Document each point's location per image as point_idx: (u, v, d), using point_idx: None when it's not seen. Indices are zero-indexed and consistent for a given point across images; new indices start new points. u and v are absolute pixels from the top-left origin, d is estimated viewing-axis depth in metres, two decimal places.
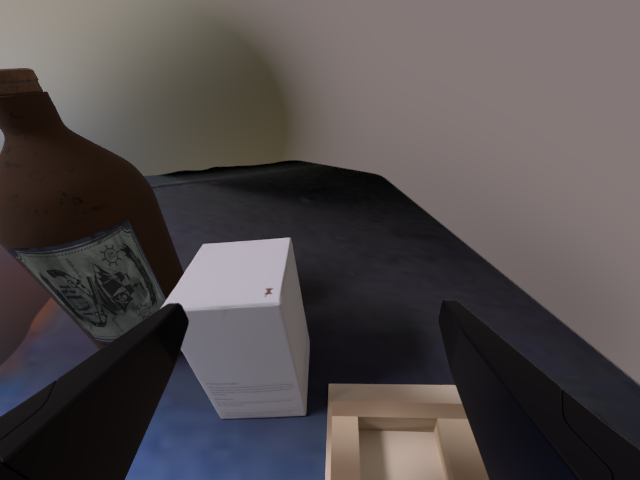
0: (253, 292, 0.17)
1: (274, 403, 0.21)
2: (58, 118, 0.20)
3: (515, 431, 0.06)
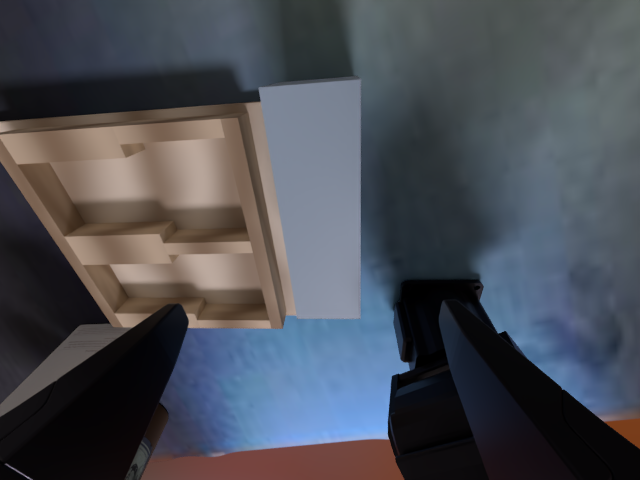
0: None
1: None
2: None
3: (515, 431, 0.06)
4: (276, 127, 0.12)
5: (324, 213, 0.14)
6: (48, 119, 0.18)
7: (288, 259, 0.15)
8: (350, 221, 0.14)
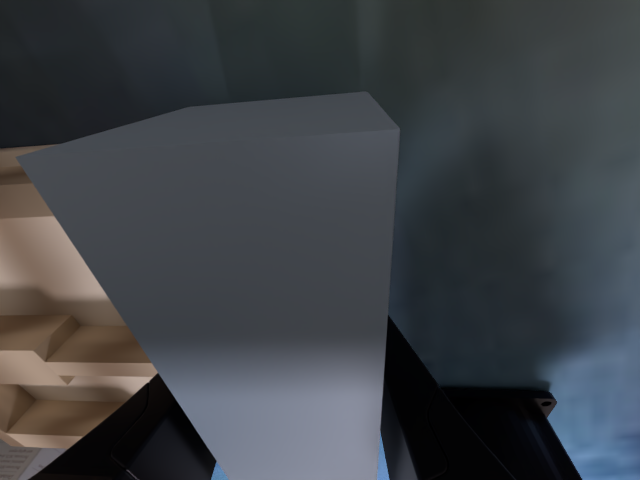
0: None
1: None
2: None
3: (393, 427, 0.06)
4: (122, 267, 0.04)
5: (293, 423, 0.06)
6: None
7: (226, 471, 0.07)
8: (354, 436, 0.06)
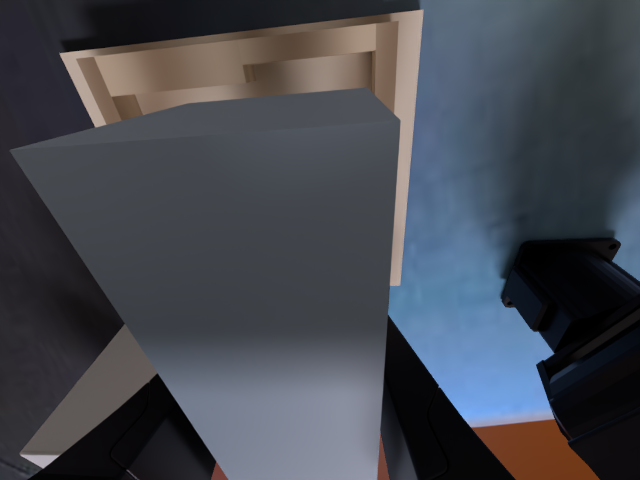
0: None
1: None
2: None
3: (393, 427, 0.06)
4: (119, 263, 0.04)
5: (292, 421, 0.06)
6: (145, 44, 0.15)
7: (225, 470, 0.07)
8: (354, 436, 0.06)
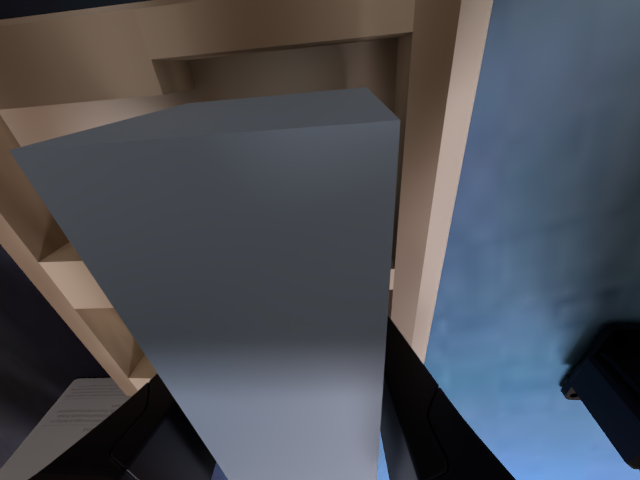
0: None
1: None
2: None
3: (393, 427, 0.06)
4: (118, 264, 0.04)
5: (293, 421, 0.06)
6: None
7: (225, 471, 0.07)
8: (354, 436, 0.06)
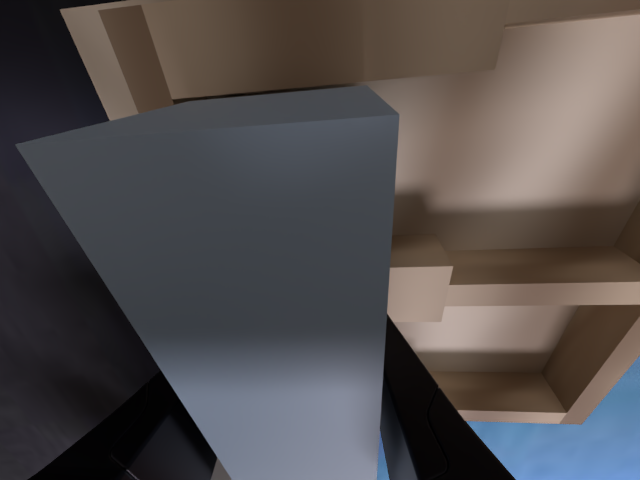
0: None
1: None
2: None
3: (393, 427, 0.06)
4: (122, 257, 0.04)
5: (293, 416, 0.06)
6: None
7: (226, 466, 0.07)
8: (354, 431, 0.06)
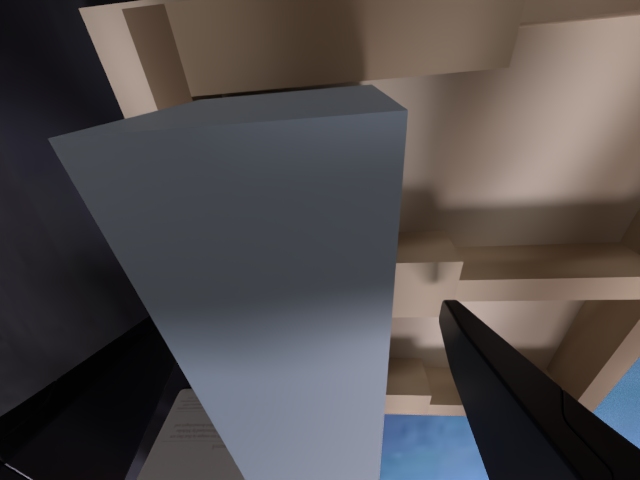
0: None
1: None
2: None
3: (515, 431, 0.06)
4: (142, 247, 0.04)
5: (301, 404, 0.06)
6: None
7: (233, 455, 0.08)
8: (359, 418, 0.06)
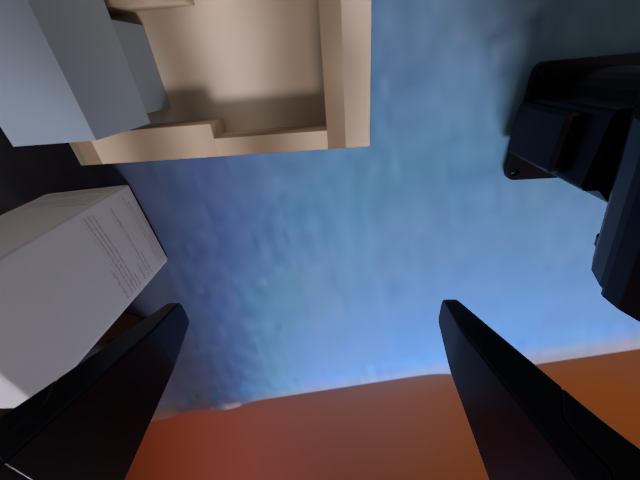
0: None
1: (123, 224, 0.20)
2: None
3: (515, 431, 0.06)
4: None
5: None
6: None
7: None
8: None
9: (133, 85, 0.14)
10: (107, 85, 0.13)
